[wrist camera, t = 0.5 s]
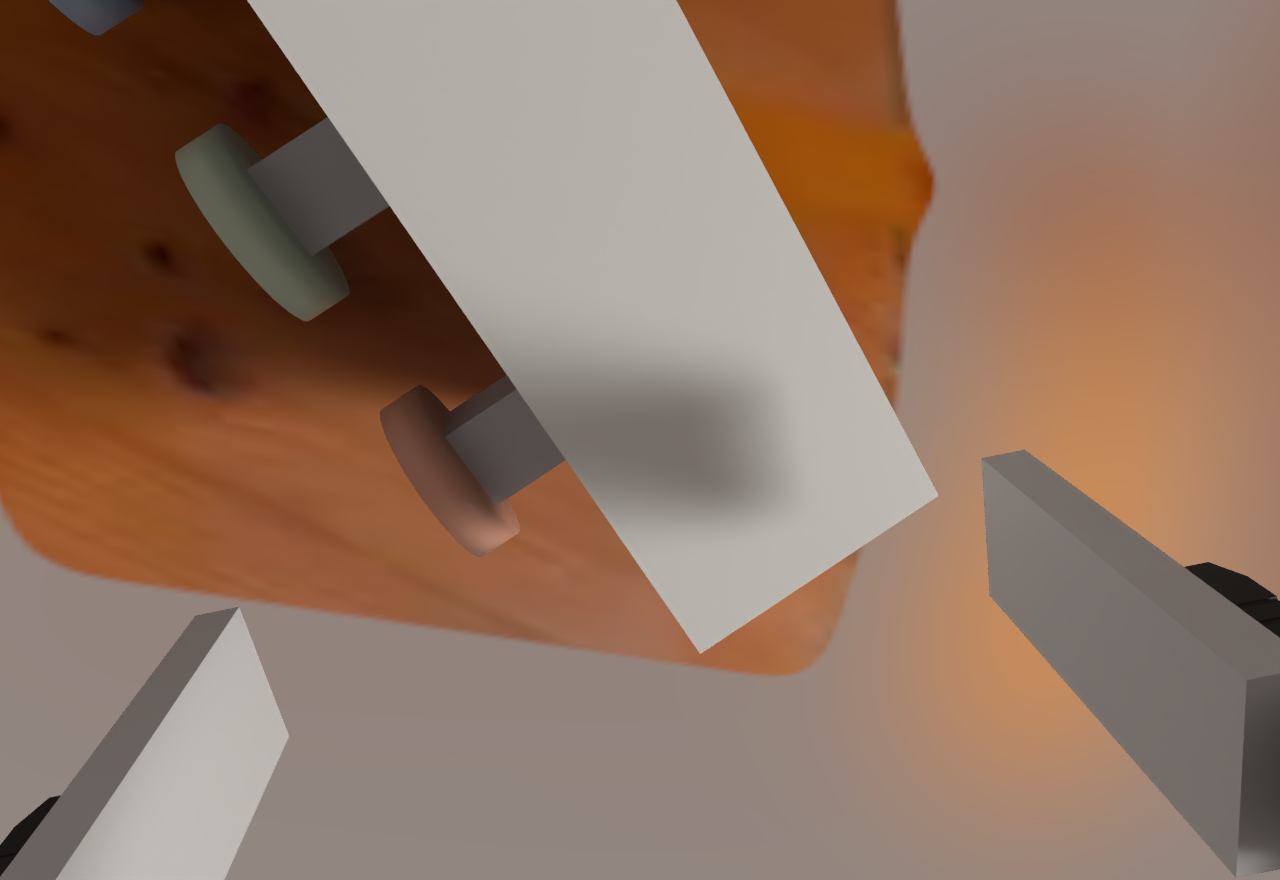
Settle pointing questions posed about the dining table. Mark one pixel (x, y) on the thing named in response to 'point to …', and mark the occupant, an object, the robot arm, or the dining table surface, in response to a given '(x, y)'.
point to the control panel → (624, 277)
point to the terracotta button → (470, 458)
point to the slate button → (97, 12)
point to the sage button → (283, 209)
